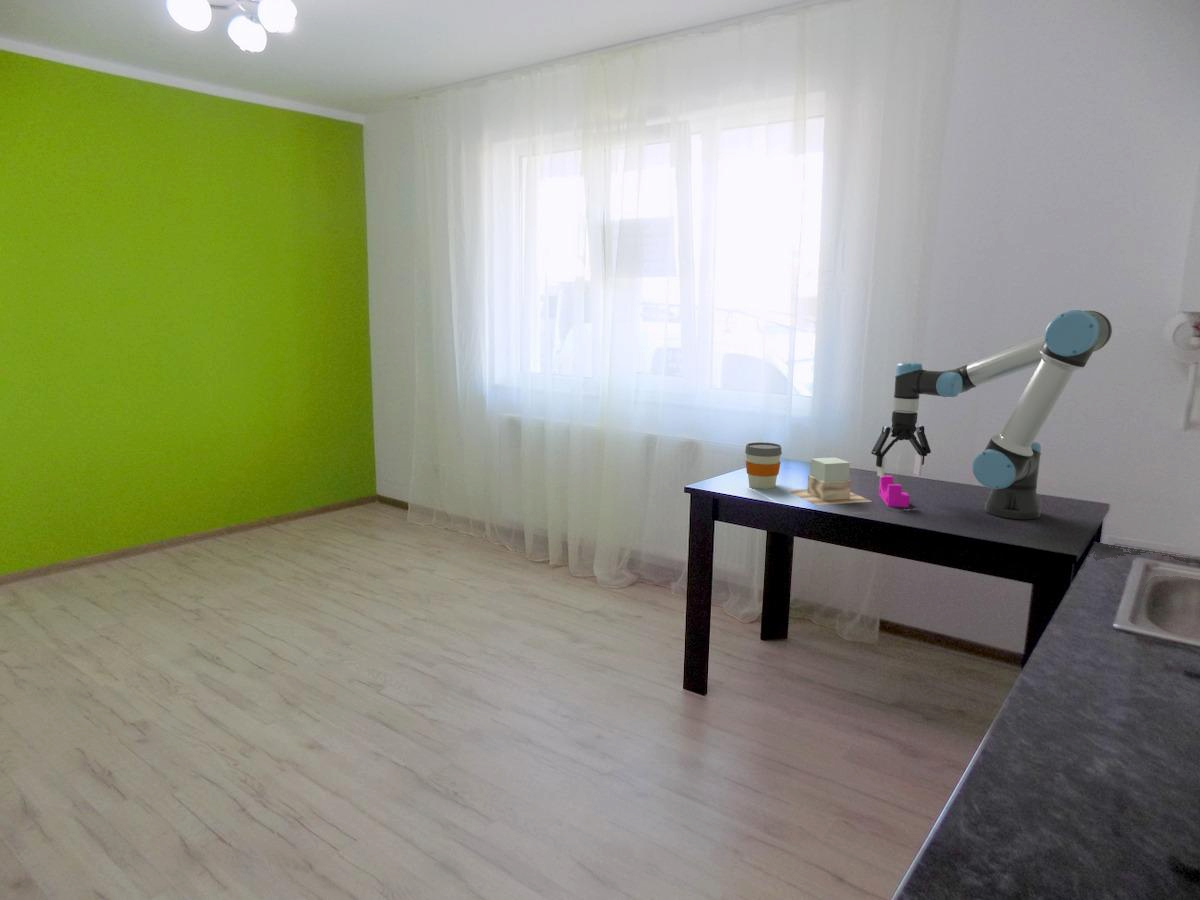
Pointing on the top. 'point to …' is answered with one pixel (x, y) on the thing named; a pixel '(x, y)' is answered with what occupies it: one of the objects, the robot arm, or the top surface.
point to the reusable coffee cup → (762, 464)
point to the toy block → (892, 493)
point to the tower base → (829, 489)
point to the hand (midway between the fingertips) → (898, 475)
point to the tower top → (830, 469)
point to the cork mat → (817, 501)
